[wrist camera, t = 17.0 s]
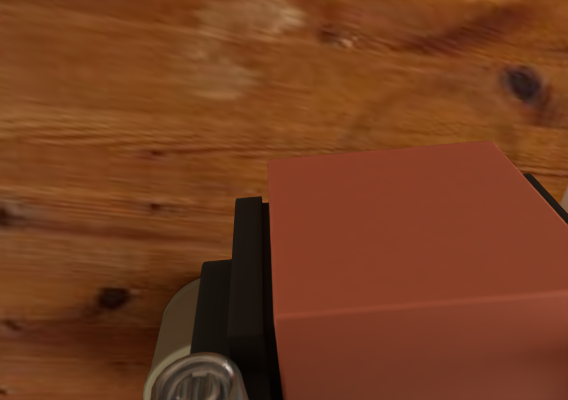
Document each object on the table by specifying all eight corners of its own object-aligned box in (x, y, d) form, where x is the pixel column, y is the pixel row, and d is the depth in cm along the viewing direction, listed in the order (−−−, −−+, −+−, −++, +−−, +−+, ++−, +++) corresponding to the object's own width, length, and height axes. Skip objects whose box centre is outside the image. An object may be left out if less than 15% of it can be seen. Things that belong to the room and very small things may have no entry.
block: (267, 157, 11) (272, 317, 7) (492, 138, 11) (626, 286, 7) (284, 323, 13) (295, 511, 9) (468, 307, 13) (558, 489, 9)
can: (129, 299, 40) (107, 373, 34) (278, 246, 38) (281, 314, 32) (202, 396, 46) (194, 473, 40) (334, 355, 44) (346, 429, 38)
